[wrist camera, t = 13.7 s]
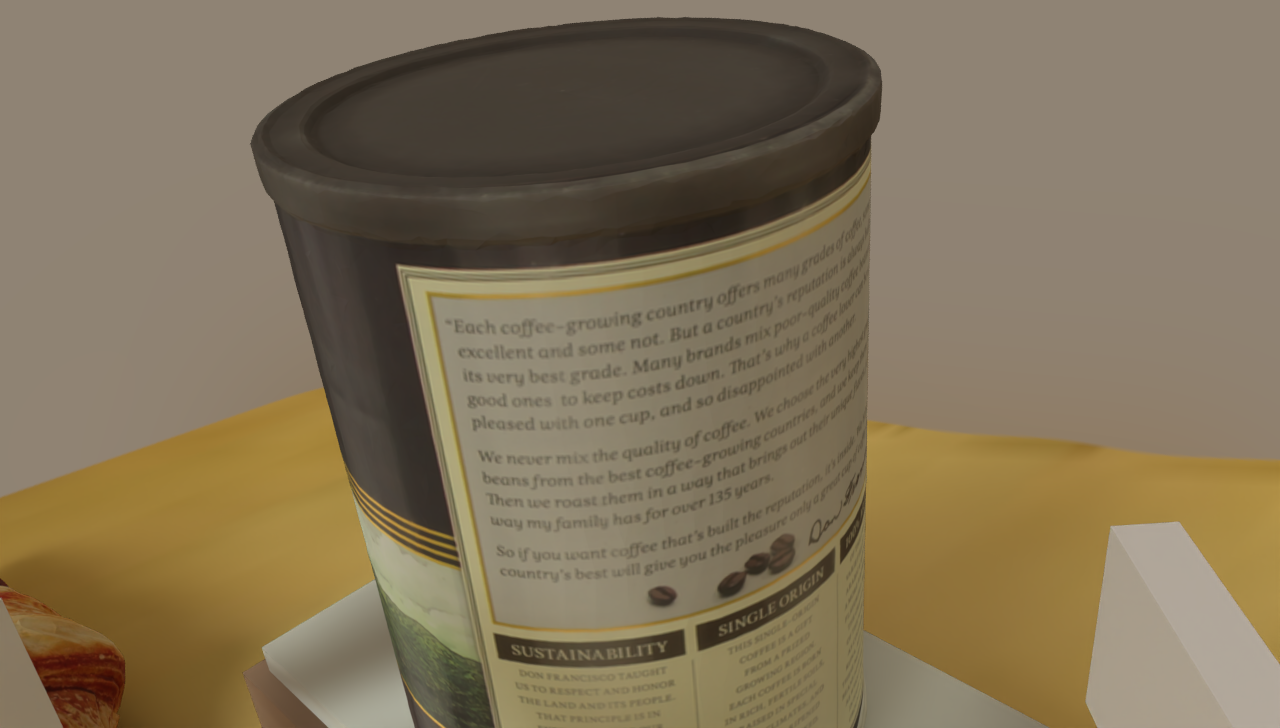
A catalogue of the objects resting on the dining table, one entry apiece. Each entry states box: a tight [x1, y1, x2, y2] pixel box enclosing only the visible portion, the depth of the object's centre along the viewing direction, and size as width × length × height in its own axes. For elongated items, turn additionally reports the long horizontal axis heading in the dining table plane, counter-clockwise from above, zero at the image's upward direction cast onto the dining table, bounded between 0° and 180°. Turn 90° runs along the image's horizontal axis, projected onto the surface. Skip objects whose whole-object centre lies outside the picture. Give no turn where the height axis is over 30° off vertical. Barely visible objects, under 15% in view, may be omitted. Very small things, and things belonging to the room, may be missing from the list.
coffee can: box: [251, 17, 882, 728], centre depth 21 cm, size 10×10×14 cm
